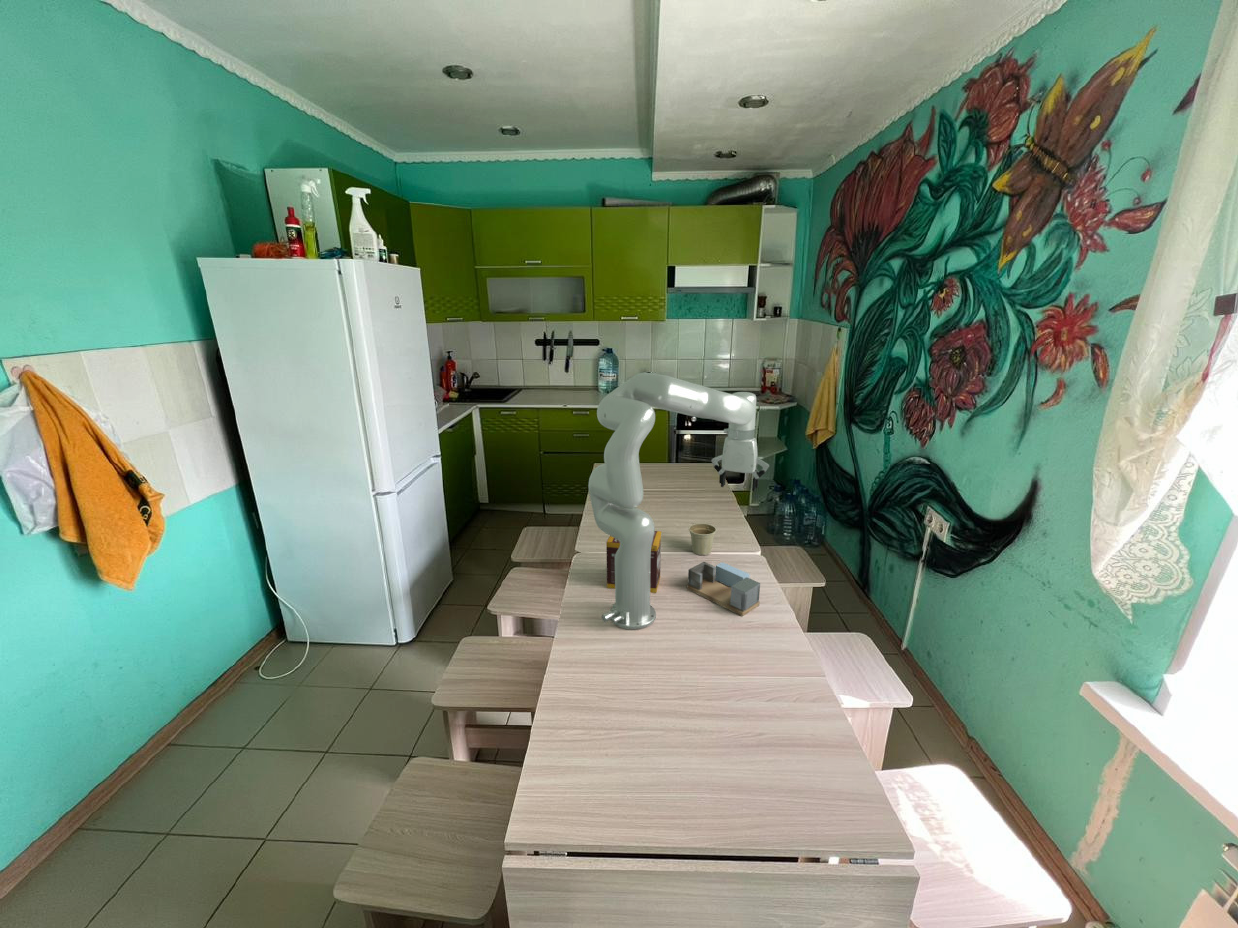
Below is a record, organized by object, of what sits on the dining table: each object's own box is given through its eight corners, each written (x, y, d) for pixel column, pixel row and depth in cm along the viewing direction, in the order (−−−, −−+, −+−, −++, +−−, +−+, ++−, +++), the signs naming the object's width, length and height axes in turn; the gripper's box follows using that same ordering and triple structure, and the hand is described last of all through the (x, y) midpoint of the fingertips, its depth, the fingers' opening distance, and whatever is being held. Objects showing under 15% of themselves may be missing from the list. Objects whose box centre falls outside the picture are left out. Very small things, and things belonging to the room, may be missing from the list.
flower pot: (683, 554, 177) (684, 531, 175) (693, 543, 185) (694, 521, 183) (710, 560, 173) (711, 536, 171) (718, 548, 181) (720, 526, 179)
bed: (759, 605, 147) (760, 586, 145) (742, 616, 142) (743, 596, 140) (704, 579, 162) (704, 561, 160) (687, 588, 156) (687, 569, 155)
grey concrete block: (758, 601, 147) (760, 583, 145) (743, 611, 142) (745, 592, 140) (745, 594, 150) (746, 577, 148) (730, 604, 145) (731, 586, 143)
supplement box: (657, 593, 154) (657, 545, 149) (606, 588, 157) (605, 541, 152) (661, 576, 164) (662, 530, 159) (613, 571, 167) (613, 527, 162)
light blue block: (748, 588, 156) (749, 573, 155) (742, 592, 154) (743, 577, 153) (721, 576, 163) (722, 562, 162) (715, 579, 161) (715, 565, 160)
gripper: (709, 434, 155) (707, 488, 161) (768, 439, 148) (764, 495, 154) (716, 428, 162) (714, 480, 167) (773, 433, 155) (769, 487, 160)
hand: (738, 487), depth 160 cm, fingers open, 9 cm apart
